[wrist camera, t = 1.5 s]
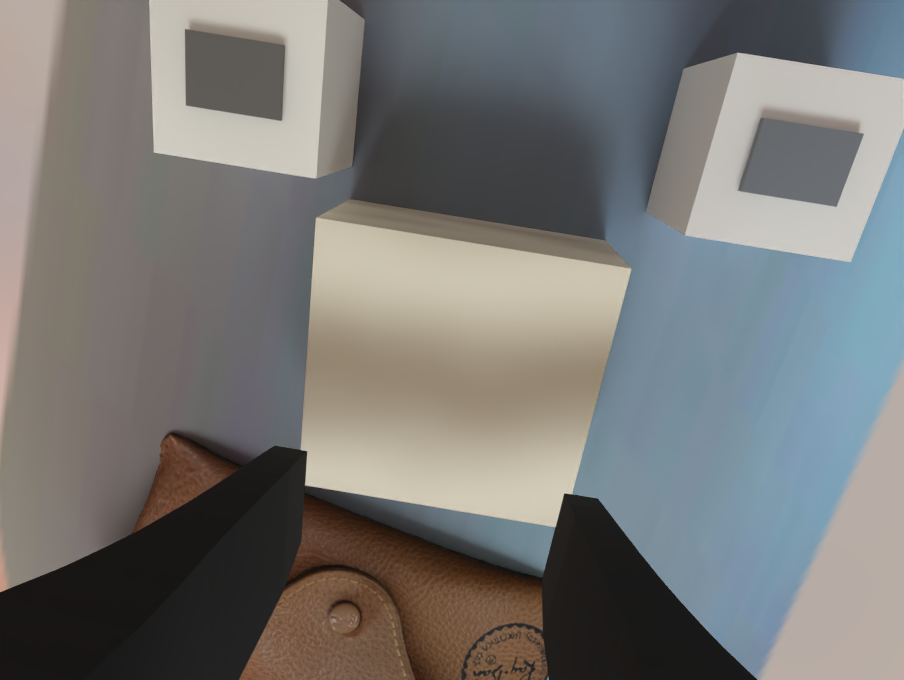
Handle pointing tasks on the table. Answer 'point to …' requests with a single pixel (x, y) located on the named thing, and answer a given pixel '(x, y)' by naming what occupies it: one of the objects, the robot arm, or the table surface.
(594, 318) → the plain birch block
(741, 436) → the table surface
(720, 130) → the cream block marked 1
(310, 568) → the sunglasses case
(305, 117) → the cream block marked 2
